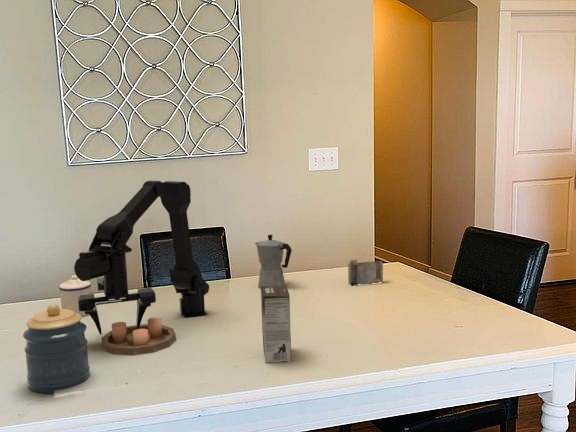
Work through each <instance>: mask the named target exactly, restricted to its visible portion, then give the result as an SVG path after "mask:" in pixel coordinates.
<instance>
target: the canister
mask: <svg viewBox="0 0 576 432" xmlns="http://www.w3.org/2000/svg"><path fill="white" fill-rule="evenodd" d="M82 317H83V316H81V315H80V314H78V313H75V312H74V311H72V310H69V309H62V308H60V306H59V305H58V304H56V303H51V304H49V305H48V306H47V308H46V310H44V311H41V312H38V313H36V314H35V315H33V317H31V318H29V319H28V320H27V321H26V327H27V329H26V330H24V332H23V334H22V337H23V338H24V339H25V341H26V346H25V347H24V353H25V361H26V370H27V372H26V373H27V375H26V381H27V383H28V387H29V389H31V391H33V392H36V393H42V394H53V393H55V391H58V390H59V391H60V390H64V389H68V388H72V387H75V386H78V385H80V384H82V383H84V382H85V381H86V380H87V379H89V377H90V373H91V369H90V368H91V367H90V365H89V363H90V362H89V351H88V338H86V336H85V332H86V330H87V325H86V323H84V322H82V321H81V320H82V319H83V318H82Z"/></svg>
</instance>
